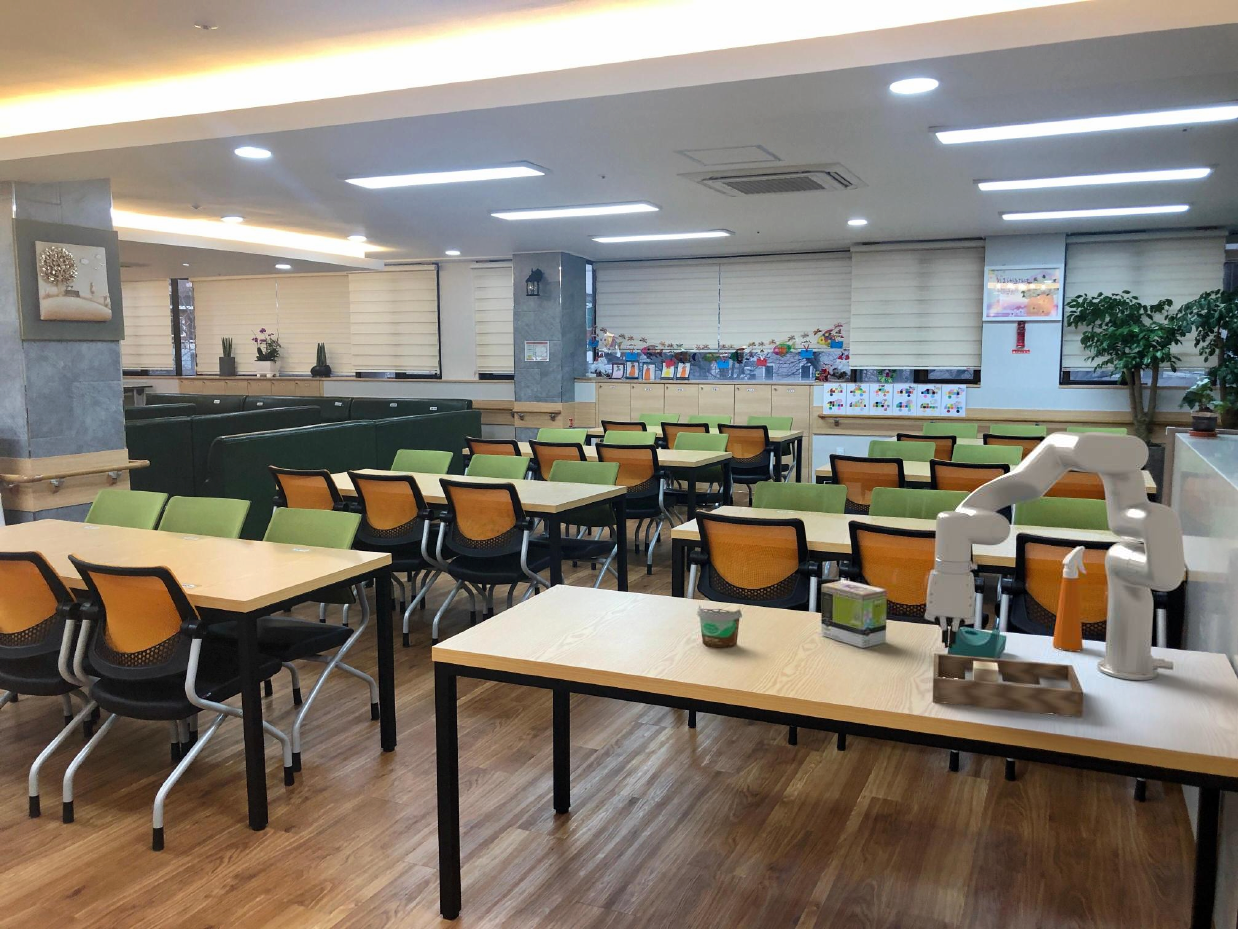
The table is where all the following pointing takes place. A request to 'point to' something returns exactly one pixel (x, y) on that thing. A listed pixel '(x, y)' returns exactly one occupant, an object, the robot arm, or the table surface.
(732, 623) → the food container
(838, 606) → the tea box
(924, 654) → the table surface
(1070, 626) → the spray bottle
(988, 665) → the block
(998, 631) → the teal l-shaped bracket
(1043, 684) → the box
